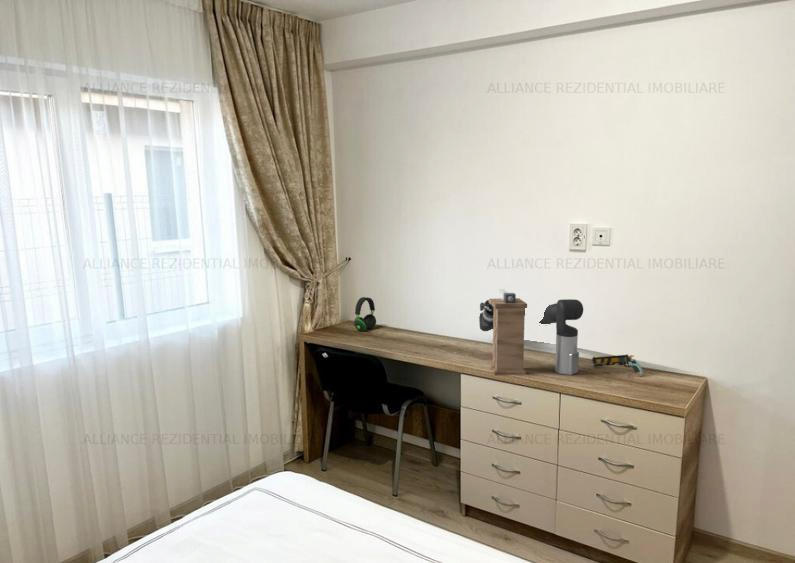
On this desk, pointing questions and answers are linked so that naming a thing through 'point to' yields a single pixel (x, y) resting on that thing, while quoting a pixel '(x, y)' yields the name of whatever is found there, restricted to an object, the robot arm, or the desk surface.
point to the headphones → (369, 319)
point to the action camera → (506, 296)
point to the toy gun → (618, 362)
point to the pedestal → (508, 337)
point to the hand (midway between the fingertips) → (496, 301)
